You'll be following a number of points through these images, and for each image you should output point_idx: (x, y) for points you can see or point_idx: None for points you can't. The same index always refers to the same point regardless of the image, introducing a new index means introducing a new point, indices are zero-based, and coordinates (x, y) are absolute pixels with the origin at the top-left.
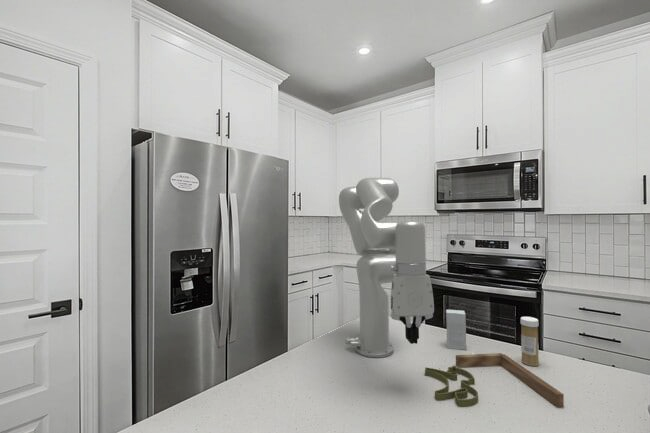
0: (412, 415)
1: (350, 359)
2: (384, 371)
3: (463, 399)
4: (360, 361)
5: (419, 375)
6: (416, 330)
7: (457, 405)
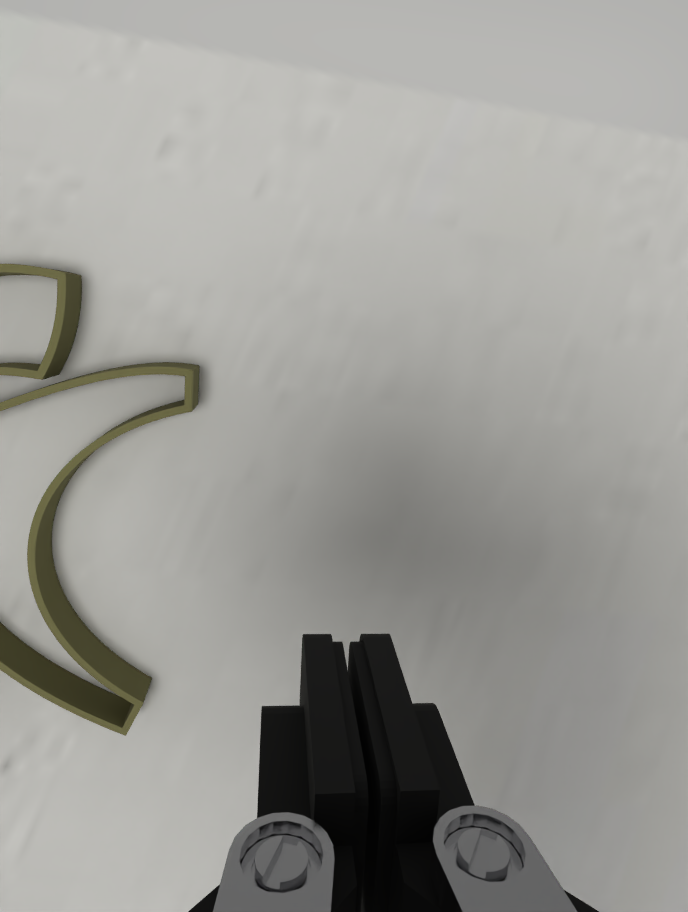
0: (426, 225)
1: None
2: None
3: (23, 272)
4: None
5: (191, 680)
6: (325, 758)
7: (81, 289)
